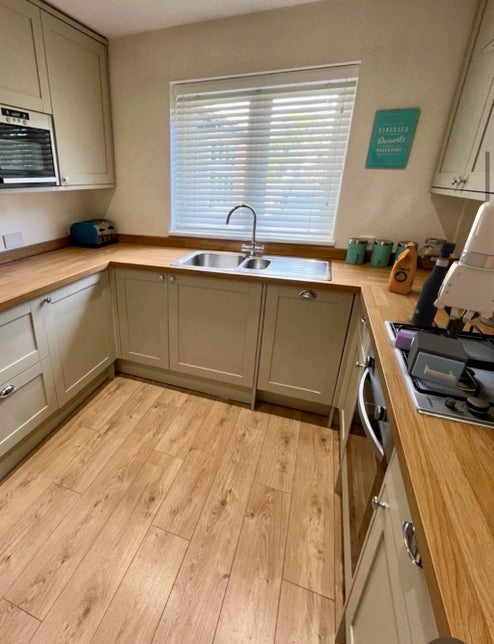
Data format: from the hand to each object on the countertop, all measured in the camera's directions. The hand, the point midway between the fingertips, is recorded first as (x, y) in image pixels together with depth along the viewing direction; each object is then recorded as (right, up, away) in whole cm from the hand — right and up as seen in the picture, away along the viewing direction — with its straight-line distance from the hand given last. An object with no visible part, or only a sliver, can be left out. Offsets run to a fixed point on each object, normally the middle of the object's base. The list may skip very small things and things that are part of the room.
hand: (451, 333), depth 79 cm
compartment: (+5, -12, +13) cm, 18 cm away
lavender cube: (+5, -6, +26) cm, 27 cm away
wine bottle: (+23, 0, +42) cm, 48 cm away
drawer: (+2, -12, +9) cm, 16 cm away
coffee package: (+37, +14, +77) cm, 87 cm away
